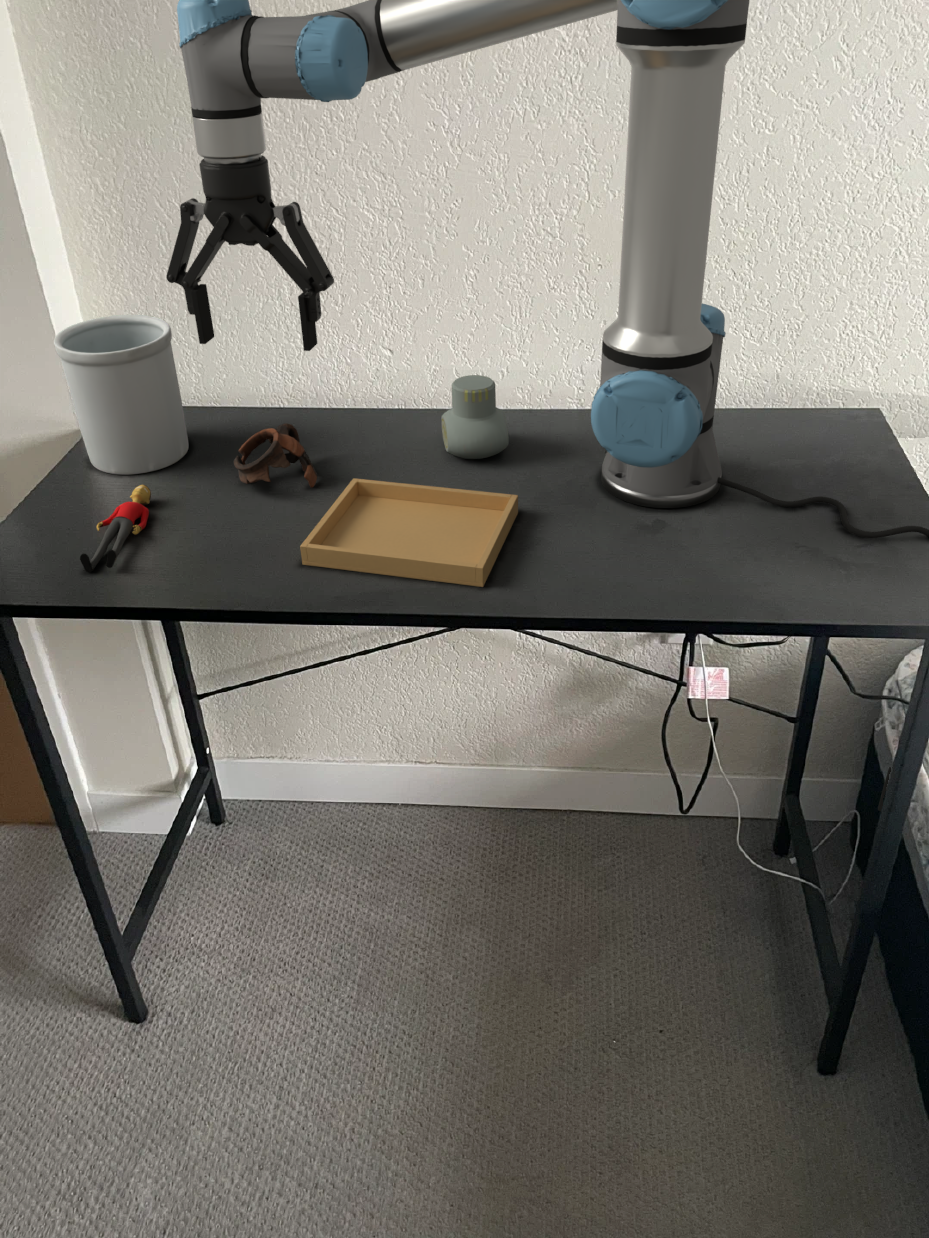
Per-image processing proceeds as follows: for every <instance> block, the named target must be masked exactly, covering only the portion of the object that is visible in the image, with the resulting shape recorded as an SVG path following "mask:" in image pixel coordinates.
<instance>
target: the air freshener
mask: <svg viewBox="0 0 929 1238" xmlns="http://www.w3.org/2000/svg"><path fill="white" fill-rule="evenodd" d="M496 395H497V394H496V381H494V380H493V378H491V377H489V376H485V375H481V374H468V375H463V376H460V377H457V378H455V380H453V382H452V383H451V408H450V409H448V410H446V411H445V412H444V413H443V414H442V415H441V431H442V432H441V433H442V440H443V444H444V449H445V450H446V452H447V453H448V454H450V455H451V456H452V455H453V456H455V457H457V458H460V459H465V460H481V459H482V460H483V459H487V458H490V457H494V456H496V455H497V454H499V453H501V452H503V451H504V450H505V449H507V447H509V442H510V438H509V437H510V435H509V427H508V422H507V417H506V415H505V412H504V411H503V410H502V409H500V408H499V407H497V401H496V400H497V399H496Z"/></svg>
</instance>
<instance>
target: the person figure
mask: <svg viewBox="0 0 929 1238" xmlns="http://www.w3.org/2000/svg"><path fill="white" fill-rule="evenodd" d="M129 498H130V499H131V501H125V502H123V503H120V504H119V505H118V506H117V507H116V508H115V509H114V510H113V512H112V513H111V514H110V515H109V516H108V517H107V518H106V519H104V520H101V521H98V523H97V524H96V530H97V531H98V532H100V530H101V529H100V528H103V527H107V526H108V527H107V529H106V530H105V532H104V534H103V537H102V539H101V541H100V543H99V545H98V547H97V549H96V551H95V553H94V554H93V556H92V558H91V559H90V556H89V555H88V554H87V553H81V554H80V557H79V560H80V563H81V564H82V566H83V568H84V571H85V572H86V573H89V574H90V573H92V572H93V571H94V570H95V568H96V567H97V565H98V564H99V562H100V561H101V560H102V558H103V557H104V555H105V554H106V558H107V559H106V563H105V566H106V568H108V569H111V568H113V567H114V564H115V562H116V560H117V557H118V556H119V554H120V552H121V550H122V548H123V545H124V543H125V541H126V540H127V538H128V537H129V535H130V534H131V533H132V534H133V535H135V536H136V535H138V534H140V532H141V531H142V530H145V528H146V526H147V523H148V519H149V515H150V510H149V508H148V507H146V506H147V505H148V504H150V501H151V499H152V492H151V489H150V487H148V486H147V485H146V484H140V485H138V486H136V487H135V488H134V489H133V490H132V492H131V494H130V496H129ZM138 519H140V522H139V524H135V522H136V520H138ZM132 530H133V531H132ZM116 536H117V537H116ZM115 537H116V540H115V541H114V544H113V546H112V549H109V550H108V548H109V545H110V544H111V543H112V540H114V538H115ZM107 550H108V551H107ZM106 552H107V553H106Z"/></svg>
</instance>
